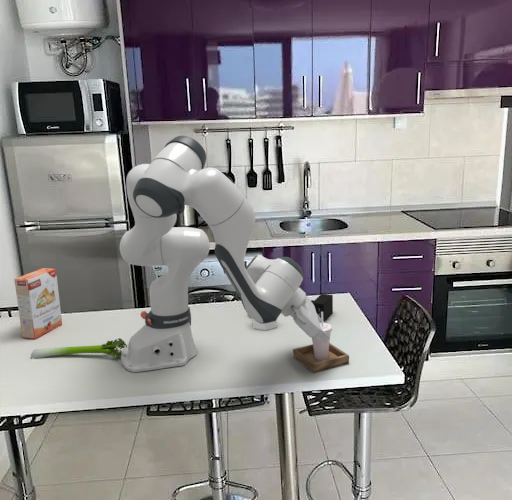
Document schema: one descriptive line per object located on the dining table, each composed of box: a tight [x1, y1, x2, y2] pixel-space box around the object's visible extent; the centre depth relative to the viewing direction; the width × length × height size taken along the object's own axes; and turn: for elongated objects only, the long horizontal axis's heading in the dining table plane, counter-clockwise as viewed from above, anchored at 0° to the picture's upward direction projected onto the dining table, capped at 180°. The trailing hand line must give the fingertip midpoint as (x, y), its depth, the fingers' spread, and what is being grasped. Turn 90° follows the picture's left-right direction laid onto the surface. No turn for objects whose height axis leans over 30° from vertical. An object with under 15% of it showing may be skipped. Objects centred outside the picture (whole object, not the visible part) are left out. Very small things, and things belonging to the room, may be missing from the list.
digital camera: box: [310, 293, 334, 323], centre depth 186 cm, size 10×5×7 cm, turn 155°
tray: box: [292, 342, 350, 374], centre depth 154 cm, size 12×12×2 cm
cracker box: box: [13, 267, 63, 340], centre depth 182 cm, size 14×6×21 cm, turn 161°
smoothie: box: [311, 312, 333, 361], centre depth 152 cm, size 6×6×14 cm
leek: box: [30, 338, 128, 360], centre depth 162 cm, size 6×7×30 cm
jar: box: [252, 319, 277, 331], centre depth 180 cm, size 9×8×12 cm
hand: (325, 332), depth 152 cm, fingers open, 8 cm apart
